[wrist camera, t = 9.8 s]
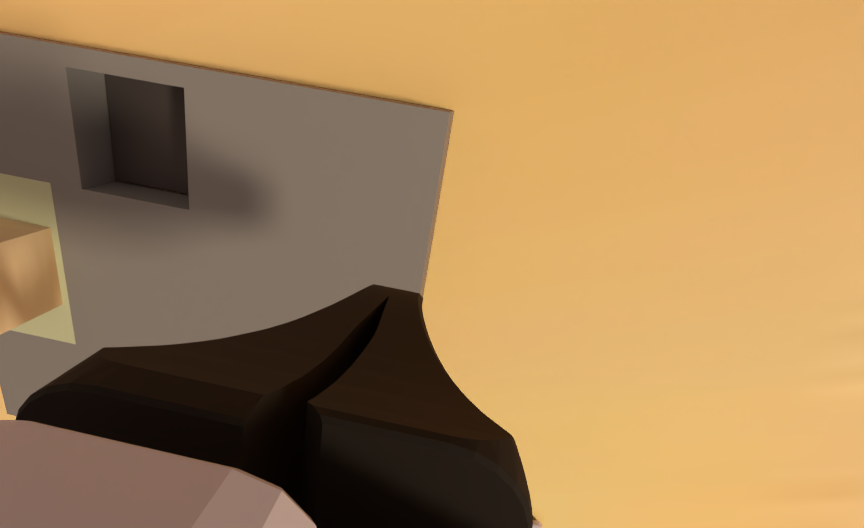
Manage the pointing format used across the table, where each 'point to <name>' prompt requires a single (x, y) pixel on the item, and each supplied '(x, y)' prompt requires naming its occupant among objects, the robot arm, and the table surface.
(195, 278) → the trap board
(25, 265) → the maple block
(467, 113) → the table surface
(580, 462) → the table surface
